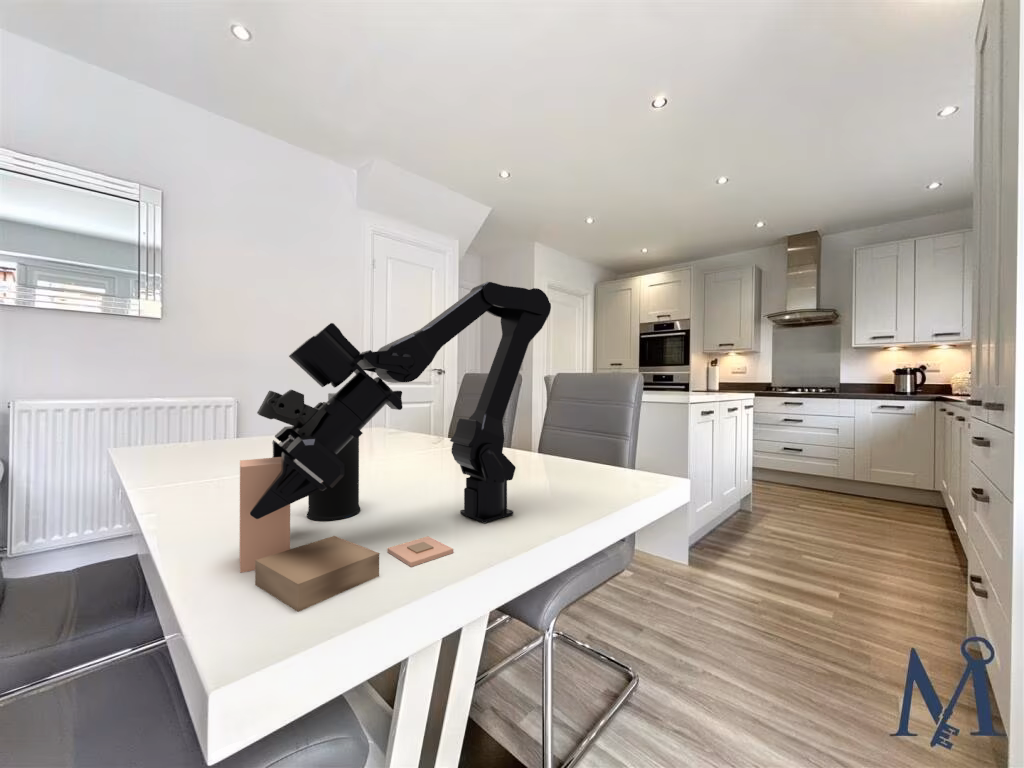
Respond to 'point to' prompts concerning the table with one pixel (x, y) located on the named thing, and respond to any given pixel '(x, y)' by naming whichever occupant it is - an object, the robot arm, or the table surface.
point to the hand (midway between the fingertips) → (251, 506)
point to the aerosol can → (339, 488)
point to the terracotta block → (268, 530)
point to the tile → (419, 551)
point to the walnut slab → (315, 571)
